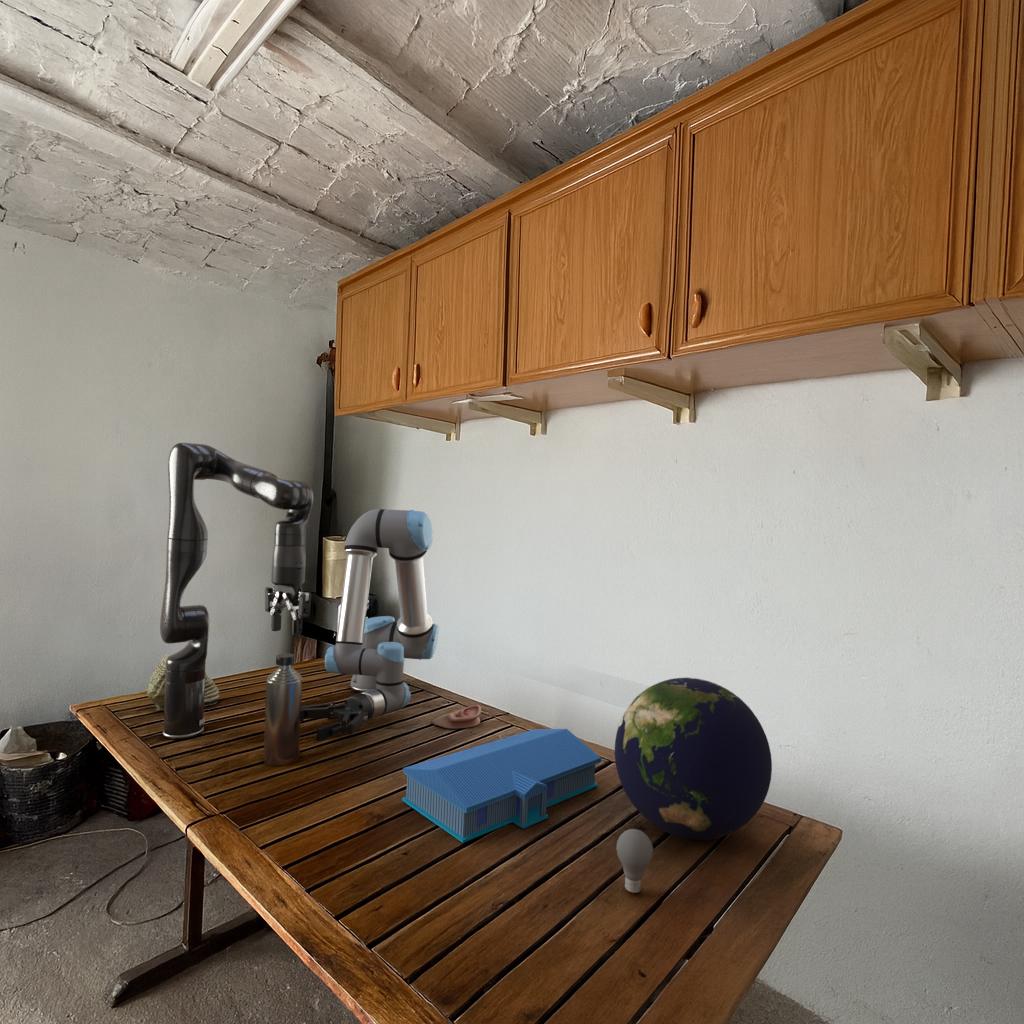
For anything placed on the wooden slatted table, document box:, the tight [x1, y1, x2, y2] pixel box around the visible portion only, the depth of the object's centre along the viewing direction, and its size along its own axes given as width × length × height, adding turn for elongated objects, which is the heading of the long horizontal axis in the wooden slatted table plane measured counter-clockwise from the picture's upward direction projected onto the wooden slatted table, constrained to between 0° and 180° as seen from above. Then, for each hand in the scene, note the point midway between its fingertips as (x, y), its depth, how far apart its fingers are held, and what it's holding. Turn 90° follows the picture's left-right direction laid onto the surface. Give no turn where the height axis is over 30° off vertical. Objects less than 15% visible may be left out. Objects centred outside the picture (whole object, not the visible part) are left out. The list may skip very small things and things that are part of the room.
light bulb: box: [615, 828, 654, 894], centre depth 106 cm, size 6×6×10 cm
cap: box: [275, 653, 295, 667], centre depth 152 cm, size 4×4×2 cm
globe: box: [614, 676, 773, 841], centre depth 126 cm, size 30×30×30 cm
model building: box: [401, 728, 602, 844], centre depth 138 cm, size 39×24×10 cm, turn 132°
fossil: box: [147, 654, 221, 712], centre depth 185 cm, size 9×18×15 cm, turn 132°
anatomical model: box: [431, 704, 482, 729], centre depth 181 cm, size 13×4×12 cm
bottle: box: [263, 665, 303, 767], centre depth 152 cm, size 8×8×24 cm
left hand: (286, 632), depth 151 cm, fingers open, 6 cm apart
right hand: (298, 728), depth 155 cm, fingers open, 13 cm apart
